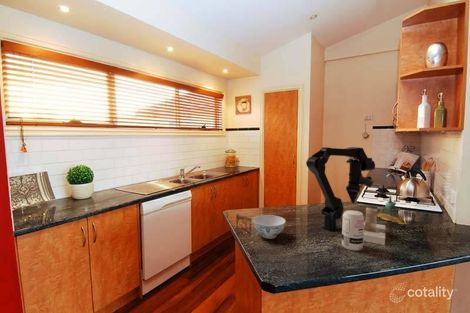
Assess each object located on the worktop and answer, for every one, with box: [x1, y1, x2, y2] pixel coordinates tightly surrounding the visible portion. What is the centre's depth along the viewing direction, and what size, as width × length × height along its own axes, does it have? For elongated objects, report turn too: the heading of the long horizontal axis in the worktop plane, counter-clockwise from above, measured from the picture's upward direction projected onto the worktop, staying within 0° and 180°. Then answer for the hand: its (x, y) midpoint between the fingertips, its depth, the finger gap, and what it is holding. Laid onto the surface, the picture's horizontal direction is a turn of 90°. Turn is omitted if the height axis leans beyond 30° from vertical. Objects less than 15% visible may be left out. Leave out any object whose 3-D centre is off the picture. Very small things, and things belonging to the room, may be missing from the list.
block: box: [364, 207, 378, 233], centre depth 118 cm, size 4×4×12 cm
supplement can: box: [341, 209, 365, 252], centre depth 106 cm, size 8×8×15 cm
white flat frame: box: [363, 221, 386, 246], centre depth 119 cm, size 12×18×3 cm, turn 149°
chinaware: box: [253, 214, 286, 240], centre depth 118 cm, size 15×15×8 cm
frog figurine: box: [377, 195, 405, 225], centre depth 140 cm, size 10×18×15 cm, turn 23°
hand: (354, 200), depth 131 cm, fingers open, 9 cm apart
